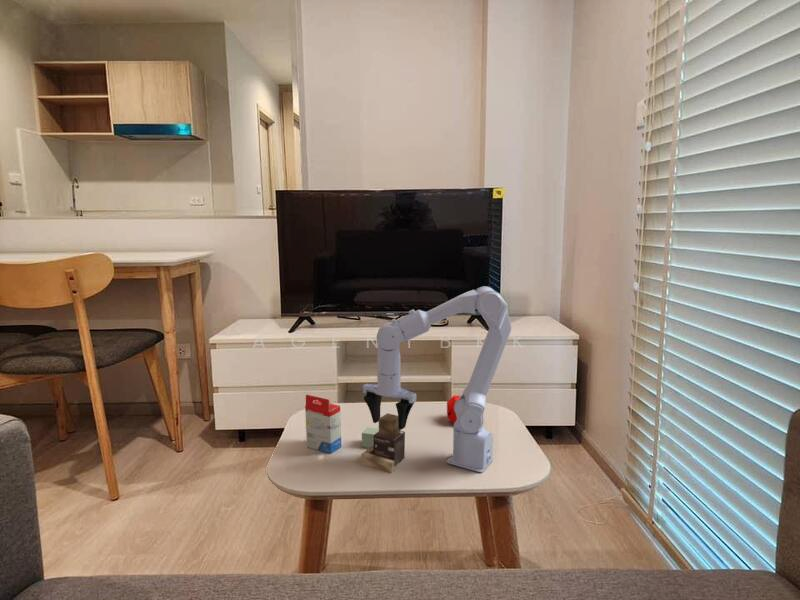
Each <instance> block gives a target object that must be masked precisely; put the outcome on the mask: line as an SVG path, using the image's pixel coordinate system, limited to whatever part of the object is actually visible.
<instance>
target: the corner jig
mask: <svg viewBox="0 0 800 600" xmlns="http://www.w3.org/2000/svg"><path fill="white" fill-rule="evenodd" d="M373 447H374V446H372V447H371V448H368V449H367V450H365V451H363V452H362V453H361V455H360V456H361V459H360V461H361V464H363V465H366V466H369V467H372V468H375V469H378V470H382V471H385V472H387V473H392V474H393V472H395V467H394V461H393V460H389V459H386V458H383V457H379V456H376V455H373Z"/></svg>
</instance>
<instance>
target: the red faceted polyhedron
mask: <svg viewBox="0 0 800 600" xmlns="http://www.w3.org/2000/svg"><path fill="white" fill-rule="evenodd" d="M460 397H461V395H453V396H451V398H449V400H447V401H446V415H447V419H448V420H449V421H450V422H451V423H452V424H454V423H455V422H456V420H457V416H456V413H455V411H454V405H455V402H456V401H457V399H459V398H460Z"/></svg>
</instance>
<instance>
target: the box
mask: <svg viewBox="0 0 800 600" xmlns="http://www.w3.org/2000/svg"><path fill="white" fill-rule="evenodd" d="M405 439H406V432H405V431H403V430H401V432H399V433H398V434H396V435H395V436H393V437H389V436H385V435H382V434H379V432H377V433H376V434H375V435H374V440H373V442H374V447H373V455H376V456H379V457H383V458H386V459H389V460H393V461H394V468H396V467H397V465H398V464H400V462H402V461H403V460H404V459H405V452H406V450H405V449H406V448H405V446H406V445H405V441H406V440H405Z"/></svg>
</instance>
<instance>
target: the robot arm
mask: <svg viewBox="0 0 800 600" xmlns="http://www.w3.org/2000/svg"><path fill="white" fill-rule="evenodd" d="M476 310H477V311H478V313H479V314H480V315H481V316H482V318H483V319H484V320H485V321H484V322H485V323H486V325H487V326H488V330H487V333H486V336H485V339H484V341H483V345H482V347H481V350H480V351H479V354H478V357H477V360H476V363H475V365H474V368H473V370H472V373H471V376H470V378H469V382H468V384H467V386H466V387H465V388H464V389H463V391H462V394H461V395H460V396H461V397H460V398H459V399H457V401H456V402H455V405H454V411H455V413H456V416H457V420H456V422H455V423H453V433H452V434H453V436H452V437H453V439H452V440H453V441H452V443H453V445H452V451H453V452H452V456H450V457H449V458H448V459H447V460H446V463H447V464H448V465H449V464H450V465H453V466H456V467H460V468H463V469H466V470H467V469H468V470H470V471H474V472H478V473H483V472H484V471H485V470H486V469H487V468H488V466H489V465H490V464H491V463H492V462H493V461H494V458H493V449H494V447H493V444H494V440H493V439H494V437H493V433H492V432H490V431H488V430H486V429H485V428H484V427H483V425H484V420H485V419H484V412H485V409H486V401H487V400H486V399H487V398H486V397H487V395H488V392H489V388H491V387H490V386H491V384H492V381H493V379H494V376H495V374H496V371H497V368H498V365H499V363H500V360H501V359H502V356H503V353H504V350H505V347H506V345H507V343H508V339H509V337H510V335H511V331H512V323H511V319H510V316H509V310H508V304H507V303H506V301H505V300H504V298H503V296H502V295H501V294H500V293H499V292H497V291H495V290H494V289H493V288H492V287H490V286H485V285H483V286H480V287H478V288H476V289H472V290H469V291H466V292H464V293H462V294H459V295H456V296H455V297H453V298H451V299H449V300H447V301H445V302H444V303H441V304H439V305H437V306H436V307H434V308H432V309H429V310H427V311H425V310H421V309H417V310H415V309H411V310H409V311H408V314H406V315H403V316H402V317H400V318H397V319H396V318H393V319H391V321H390V322H385V323H383V324H382V325H381V326H380V327H379V328H378V330H377V334H376V342H377V354H376V356H377V357H376V358H377V360H376V361H377V362H376V363H377V364H376V366H377V367H376V370H377V372H376V373H377V374H376V375H377V377H376V378H377V384H374V383H366V384H363V386H362V393H363V394H365V395H364V396H363V401H364V402H365V404H366V406H367V407H368V409H369V412H370V415H371V419H372V423H374V424H376V423H379V418H380V417H381V404H382V403H381V402H382V397H385V398H390V399H395V400H400V401H398V402H396V403H395V407H396V411H397V412H396V413H397V416H398V427H399V429H400V430H401V431H403V429H405V428H406V425H407V421H408V417H409V414H410V413H411V410H412V408H413V406H414V404H415V403H416V402H417V393H415V392H412V391H409V390H407V389H404V388H402V387H401V381H402V380H401V374H402V372H401V363H402V362H401V359H402V358H401V352H400V345H401V342H407V341H410V340H412V339H414V338H416V337H418V336H422V335H423V334H425V333H427V332H429V331H430V328H431V325H434V324H435V323H437V322H440V321H443V320H445V319H447V318H450V317H453V316H455V315H457V314H461V313H467V314H472V315H476Z"/></svg>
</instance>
